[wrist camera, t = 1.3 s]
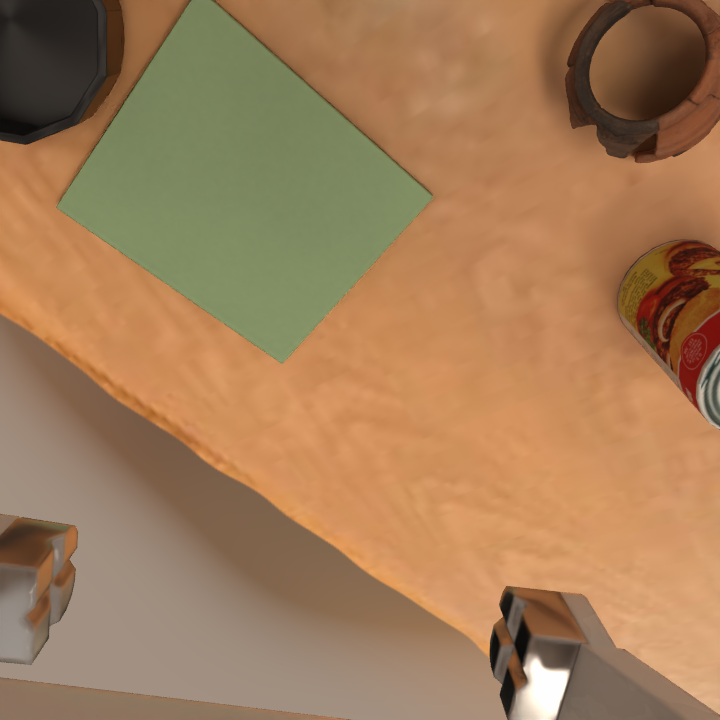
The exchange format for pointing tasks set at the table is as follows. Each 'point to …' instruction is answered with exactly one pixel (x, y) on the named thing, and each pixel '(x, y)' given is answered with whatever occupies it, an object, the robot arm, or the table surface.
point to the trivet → (241, 184)
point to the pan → (56, 63)
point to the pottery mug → (673, 129)
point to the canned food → (679, 317)
